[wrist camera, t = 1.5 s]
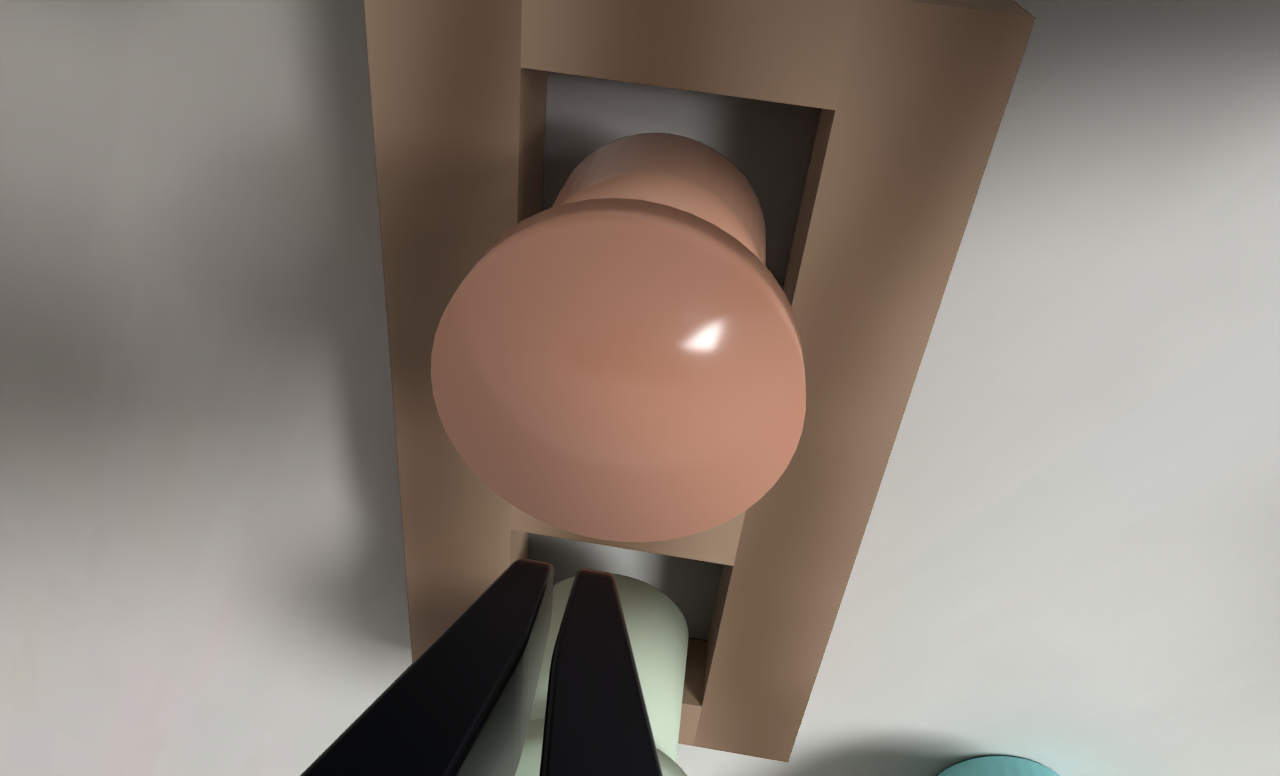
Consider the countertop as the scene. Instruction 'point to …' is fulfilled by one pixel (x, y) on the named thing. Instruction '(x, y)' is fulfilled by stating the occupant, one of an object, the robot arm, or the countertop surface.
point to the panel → (814, 285)
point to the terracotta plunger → (627, 350)
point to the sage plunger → (657, 659)
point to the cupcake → (998, 767)
